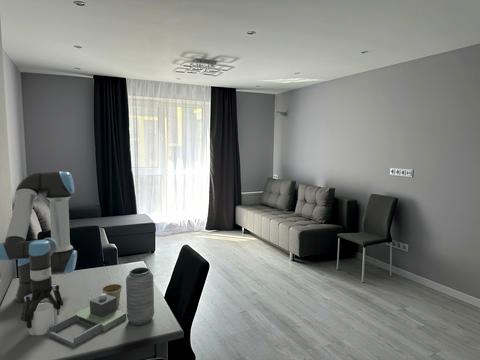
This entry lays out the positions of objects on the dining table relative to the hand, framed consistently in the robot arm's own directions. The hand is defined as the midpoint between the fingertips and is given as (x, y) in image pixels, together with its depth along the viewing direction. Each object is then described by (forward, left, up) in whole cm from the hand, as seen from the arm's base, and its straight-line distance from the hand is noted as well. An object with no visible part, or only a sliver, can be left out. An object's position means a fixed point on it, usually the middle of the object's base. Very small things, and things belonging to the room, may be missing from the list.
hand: (43, 328), depth 138 cm
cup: (-2, 0, 0) cm, 2 cm away
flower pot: (+8, +29, 0) cm, 30 cm away
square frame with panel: (+14, +11, 0) cm, 17 cm away
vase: (+31, +25, 0) cm, 40 cm away
